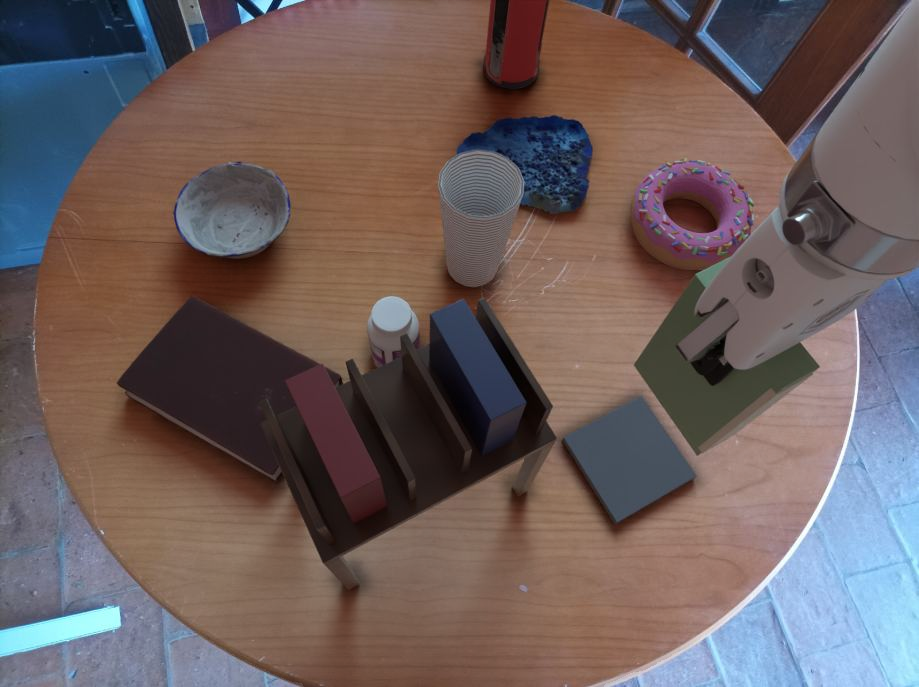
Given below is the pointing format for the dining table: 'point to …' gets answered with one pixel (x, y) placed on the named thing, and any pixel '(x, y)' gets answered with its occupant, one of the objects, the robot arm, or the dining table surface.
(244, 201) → the bowl
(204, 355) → the book
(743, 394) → the green book
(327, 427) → the burgundy book
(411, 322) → the pill bottle
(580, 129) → the rock
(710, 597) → the dining table surface
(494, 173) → the cup
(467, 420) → the navy book
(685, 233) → the donut
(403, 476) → the rack
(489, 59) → the speaker
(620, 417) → the mat
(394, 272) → the dining table surface
